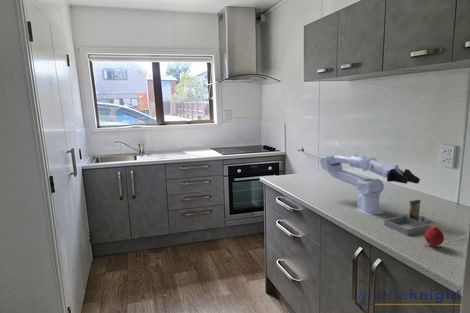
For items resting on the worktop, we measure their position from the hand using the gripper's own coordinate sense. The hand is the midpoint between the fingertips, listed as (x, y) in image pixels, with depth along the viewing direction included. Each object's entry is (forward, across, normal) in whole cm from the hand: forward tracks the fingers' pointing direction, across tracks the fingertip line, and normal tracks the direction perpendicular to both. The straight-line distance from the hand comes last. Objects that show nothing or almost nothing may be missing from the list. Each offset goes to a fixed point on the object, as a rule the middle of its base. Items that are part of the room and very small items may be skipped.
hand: (413, 181), depth 124 cm
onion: (+18, -6, +18) cm, 27 cm away
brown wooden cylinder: (-1, +12, +18) cm, 21 cm away
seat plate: (-1, +12, +18) cm, 22 cm away
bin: (+4, -1, +20) cm, 20 cm away
